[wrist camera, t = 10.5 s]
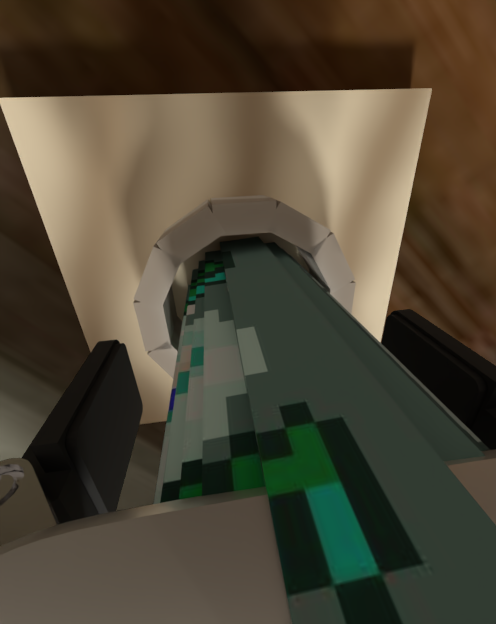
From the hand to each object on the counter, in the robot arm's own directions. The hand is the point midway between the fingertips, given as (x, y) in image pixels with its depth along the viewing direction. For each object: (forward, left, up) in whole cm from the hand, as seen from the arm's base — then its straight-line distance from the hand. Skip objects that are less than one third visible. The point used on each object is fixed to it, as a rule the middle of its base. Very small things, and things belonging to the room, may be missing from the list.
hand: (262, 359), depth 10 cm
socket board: (0, 0, -8) cm, 8 cm away
